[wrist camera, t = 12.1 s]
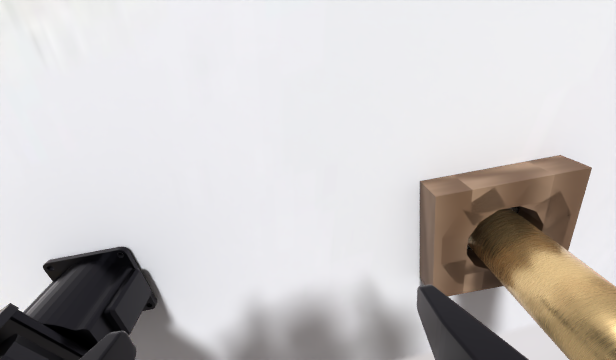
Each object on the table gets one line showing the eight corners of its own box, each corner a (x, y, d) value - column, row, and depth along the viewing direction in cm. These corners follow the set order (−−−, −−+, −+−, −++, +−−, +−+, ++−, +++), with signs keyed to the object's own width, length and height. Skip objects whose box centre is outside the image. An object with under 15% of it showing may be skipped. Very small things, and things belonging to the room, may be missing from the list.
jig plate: (419, 277, 27) (432, 299, 24) (420, 181, 22) (435, 196, 20) (537, 255, 27) (561, 275, 24) (560, 155, 22) (591, 167, 20)
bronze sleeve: (465, 250, 26) (666, 487, 12) (451, 214, 24) (669, 445, 10) (514, 229, 25) (786, 454, 11) (503, 190, 23) (811, 402, 10)
